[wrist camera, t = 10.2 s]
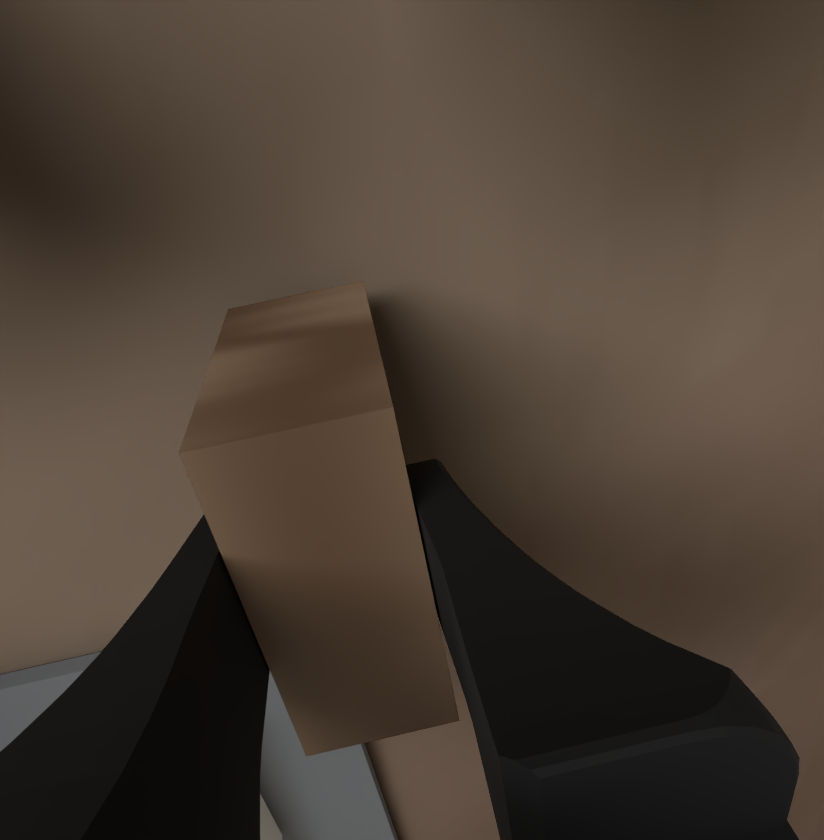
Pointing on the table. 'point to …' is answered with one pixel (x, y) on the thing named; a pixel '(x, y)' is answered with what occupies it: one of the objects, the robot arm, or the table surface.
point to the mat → (280, 762)
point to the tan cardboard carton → (320, 518)
